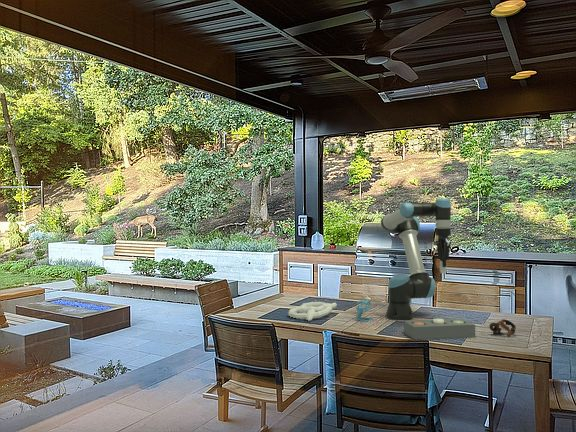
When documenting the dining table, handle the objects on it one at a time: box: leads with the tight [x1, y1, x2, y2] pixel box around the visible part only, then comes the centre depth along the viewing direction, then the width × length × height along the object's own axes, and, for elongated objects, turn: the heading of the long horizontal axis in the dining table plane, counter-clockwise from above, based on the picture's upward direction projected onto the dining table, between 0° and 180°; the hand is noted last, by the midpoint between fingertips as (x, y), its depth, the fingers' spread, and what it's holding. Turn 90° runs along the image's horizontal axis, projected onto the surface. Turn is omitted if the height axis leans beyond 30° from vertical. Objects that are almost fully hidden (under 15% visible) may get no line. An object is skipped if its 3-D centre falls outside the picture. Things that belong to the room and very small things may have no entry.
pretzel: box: [288, 301, 338, 322], centre depth 274 cm, size 28×24×6 cm
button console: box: [403, 318, 476, 340], centre depth 227 cm, size 14×30×6 cm, turn 96°
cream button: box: [432, 317, 445, 324], centre depth 227 cm, size 5×5×3 cm
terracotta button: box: [413, 322, 424, 325], centre depth 226 cm, size 5×5×3 cm
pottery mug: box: [489, 319, 516, 338], centre depth 225 cm, size 12×10×8 cm
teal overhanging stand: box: [355, 298, 374, 323], centre depth 262 cm, size 8×8×12 cm
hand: (443, 273), depth 244 cm, fingers closed
